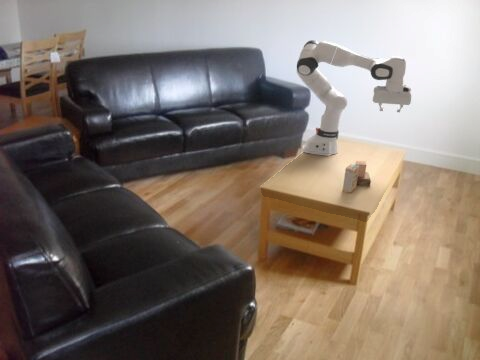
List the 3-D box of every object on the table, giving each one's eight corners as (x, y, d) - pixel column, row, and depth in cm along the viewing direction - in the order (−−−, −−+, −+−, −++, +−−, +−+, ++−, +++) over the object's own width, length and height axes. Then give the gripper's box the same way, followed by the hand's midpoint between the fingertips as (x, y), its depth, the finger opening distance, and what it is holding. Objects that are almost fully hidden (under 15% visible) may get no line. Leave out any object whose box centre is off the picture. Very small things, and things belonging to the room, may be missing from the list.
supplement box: (350, 193, 251) (354, 170, 246) (342, 191, 253) (345, 168, 248) (356, 188, 258) (359, 165, 252) (347, 186, 260) (351, 163, 255)
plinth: (349, 184, 261) (350, 177, 260) (347, 176, 271) (348, 170, 270) (369, 186, 260) (371, 179, 259) (367, 178, 270) (368, 171, 269)
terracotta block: (355, 176, 262) (356, 164, 259) (354, 172, 267) (355, 160, 264) (364, 177, 262) (366, 164, 259) (363, 173, 266) (365, 161, 264)
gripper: (375, 86, 264) (371, 111, 270) (413, 89, 262) (409, 114, 268) (373, 84, 270) (369, 108, 275) (411, 86, 268) (406, 111, 274)
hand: (389, 111), depth 272 cm, fingers open, 8 cm apart
